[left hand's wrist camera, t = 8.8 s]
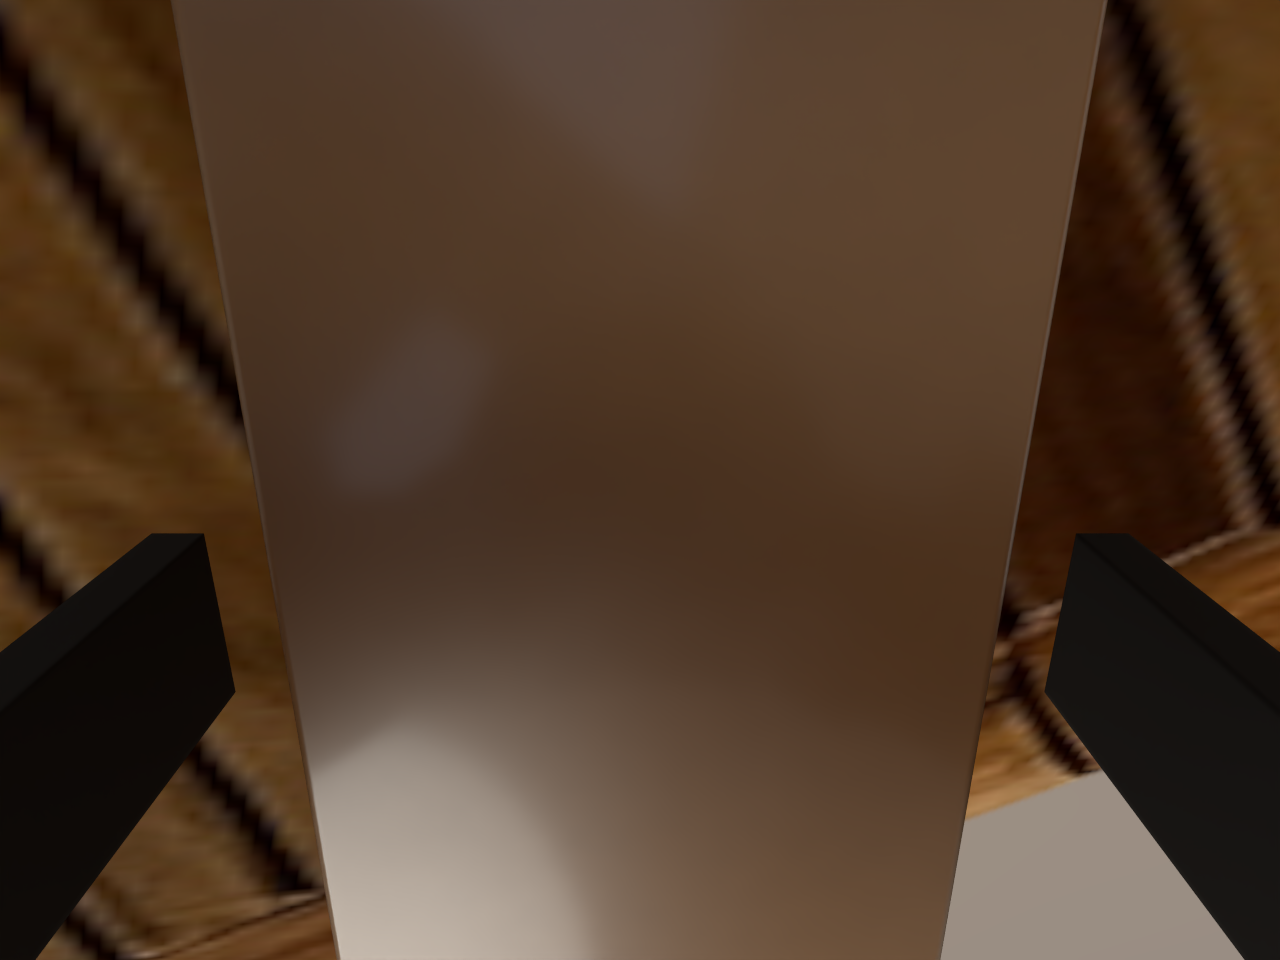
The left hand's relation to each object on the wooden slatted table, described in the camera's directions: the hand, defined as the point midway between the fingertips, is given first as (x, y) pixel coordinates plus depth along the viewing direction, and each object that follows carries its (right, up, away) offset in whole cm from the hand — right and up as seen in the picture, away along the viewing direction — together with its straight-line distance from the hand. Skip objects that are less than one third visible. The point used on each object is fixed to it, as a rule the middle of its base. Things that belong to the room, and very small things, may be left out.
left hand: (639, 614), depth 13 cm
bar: (0, +9, -1) cm, 9 cm away
